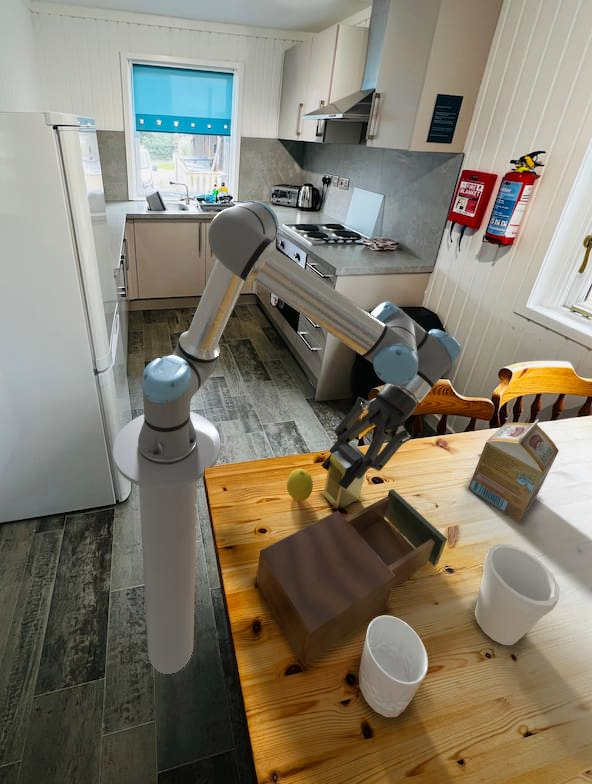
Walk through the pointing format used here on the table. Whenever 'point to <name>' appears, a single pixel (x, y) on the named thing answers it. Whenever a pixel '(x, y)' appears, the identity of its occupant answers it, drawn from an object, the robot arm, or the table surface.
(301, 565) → the cabinet
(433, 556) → the drawer
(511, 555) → the foam cup
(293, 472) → the lemon
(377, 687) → the white cup
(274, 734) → the table surface
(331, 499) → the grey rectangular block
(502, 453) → the milk carton
